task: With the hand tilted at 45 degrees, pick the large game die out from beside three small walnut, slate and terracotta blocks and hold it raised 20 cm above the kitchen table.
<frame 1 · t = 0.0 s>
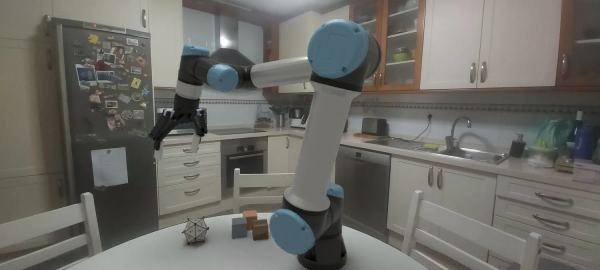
hand: (176, 155, 89), 28 cm above the table, tool tilted 20°, fingers open, 13 cm apart
terracotta block: (250, 226, 99), on the table
slate block: (239, 234, 93), on the table
game die: (196, 241, 88), on the table
walnut block: (260, 236, 92), on the table
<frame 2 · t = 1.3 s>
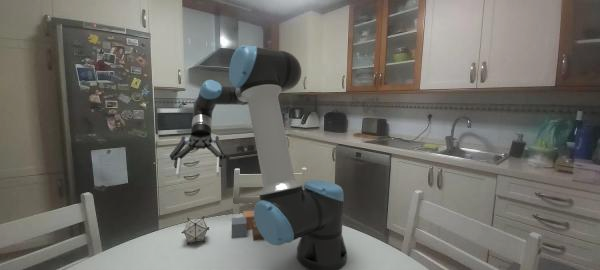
hand: (198, 174, 95), 20 cm above the table, tool tilted 45°, fingers open, 13 cm apart
nothing on the table moved.
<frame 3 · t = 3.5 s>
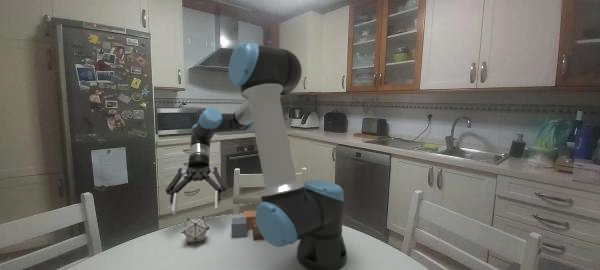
hand: (195, 211, 90), 9 cm above the table, tool tilted 45°, fingers open, 13 cm apart
nothing on the table moved.
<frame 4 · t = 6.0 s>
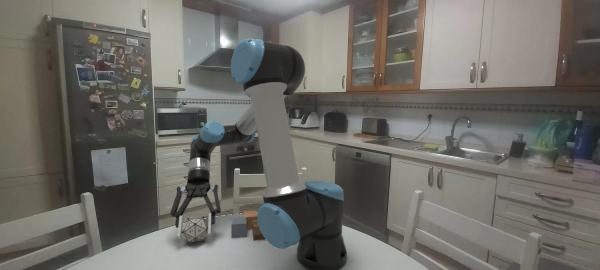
hand: (194, 235, 84), 4 cm above the table, tool tilted 45°, fingers closed on game die, 8 cm apart
game die: (196, 241, 88), on the table, touching gripper
everything else where it was.
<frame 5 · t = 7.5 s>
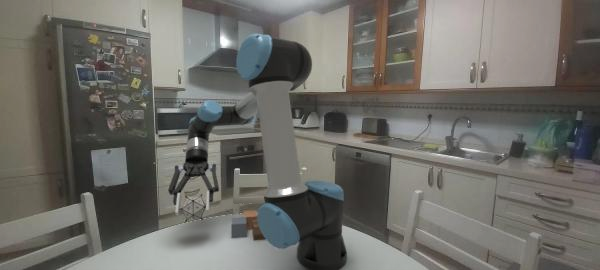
hand: (192, 212, 84), 11 cm above the table, tool tilted 45°, fingers closed on game die, 8 cm apart
game die: (194, 219, 87), point 7 cm above the table, touching gripper
everything else where it was.
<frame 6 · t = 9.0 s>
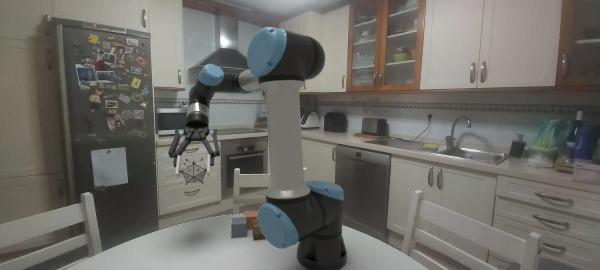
hand: (193, 175, 81), 24 cm above the table, tool tilted 45°, fingers closed on game die, 8 cm apart
game die: (194, 183, 85), point 20 cm above the table, touching gripper
everything else where it was.
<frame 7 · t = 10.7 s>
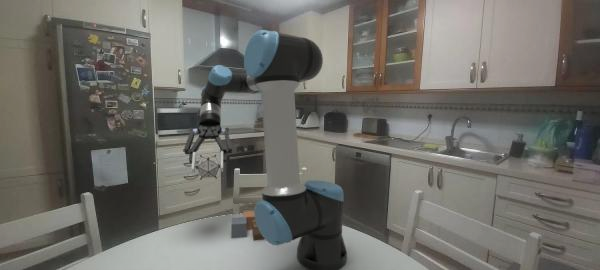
hand: (207, 170, 87), 24 cm above the table, tool tilted 45°, fingers closed on game die, 8 cm apart
terracotta block: (250, 226, 99), on the table, touching slate block
slate block: (239, 234, 93), on the table, touching terracotta block
game die: (208, 178, 91), point 20 cm above the table, touching gripper
everything else where it was.
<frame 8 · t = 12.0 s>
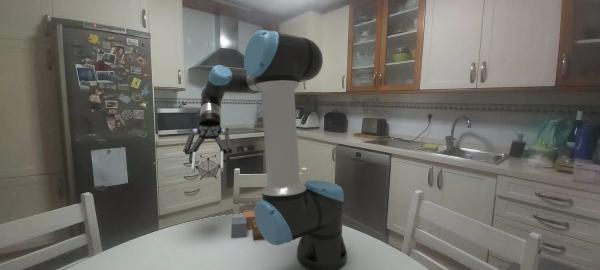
hand: (207, 170, 87), 24 cm above the table, tool tilted 45°, fingers closed on game die, 8 cm apart
terracotta block: (250, 226, 99), on the table
slate block: (239, 234, 93), on the table
game die: (208, 178, 91), point 20 cm above the table, touching gripper
everything else where it was.
at the end: the gripper is holding game die; game die point 19.7 cm above the table; slate block moved 0.2 cm from its start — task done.
